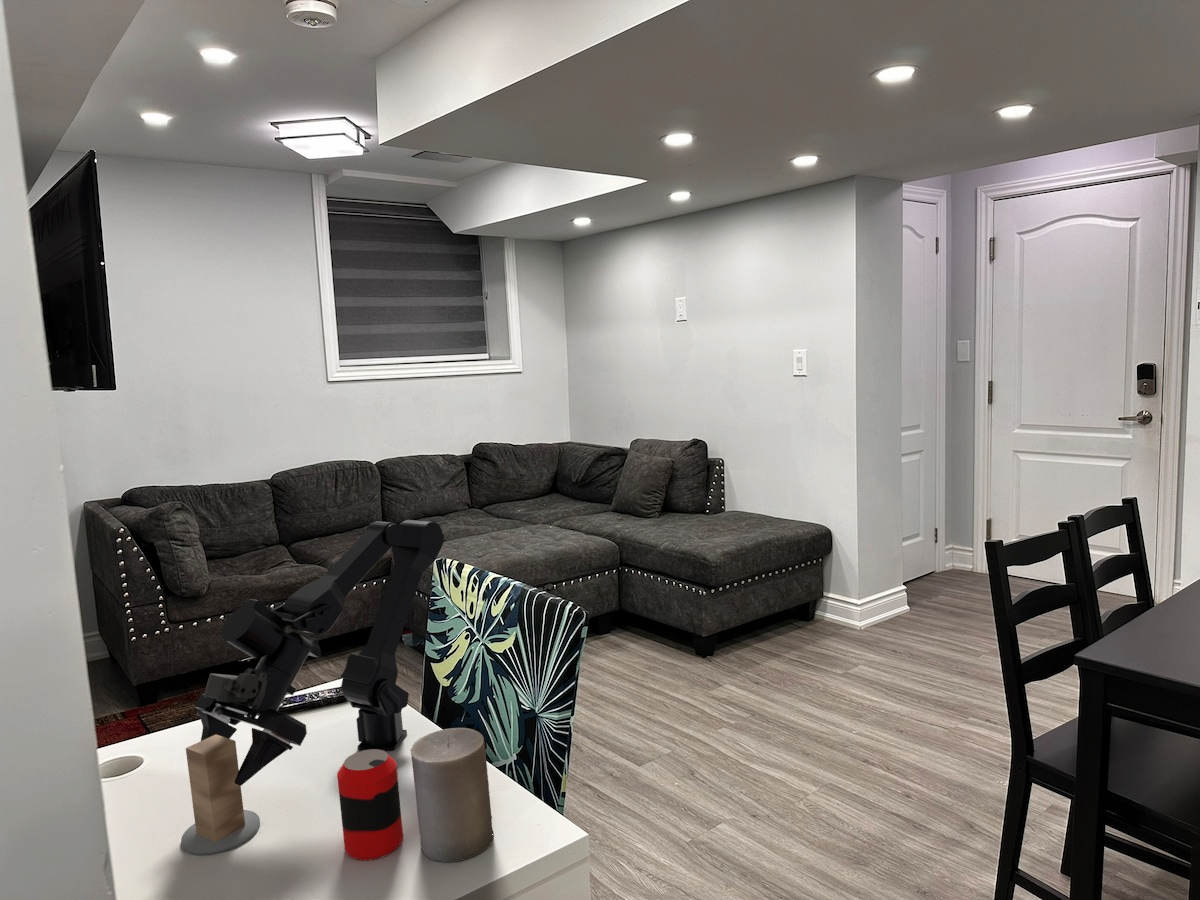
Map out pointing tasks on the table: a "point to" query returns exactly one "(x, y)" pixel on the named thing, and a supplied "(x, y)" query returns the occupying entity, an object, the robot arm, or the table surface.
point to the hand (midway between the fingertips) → (217, 776)
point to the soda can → (370, 804)
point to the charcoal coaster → (206, 846)
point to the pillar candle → (452, 794)
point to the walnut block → (215, 787)
